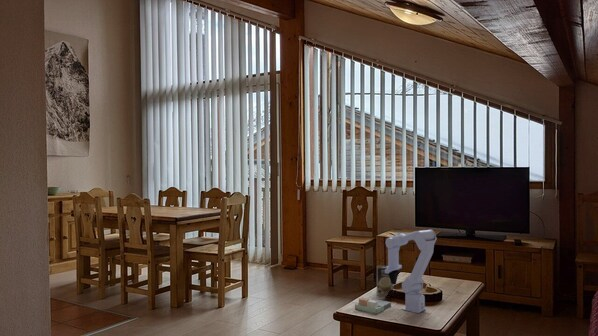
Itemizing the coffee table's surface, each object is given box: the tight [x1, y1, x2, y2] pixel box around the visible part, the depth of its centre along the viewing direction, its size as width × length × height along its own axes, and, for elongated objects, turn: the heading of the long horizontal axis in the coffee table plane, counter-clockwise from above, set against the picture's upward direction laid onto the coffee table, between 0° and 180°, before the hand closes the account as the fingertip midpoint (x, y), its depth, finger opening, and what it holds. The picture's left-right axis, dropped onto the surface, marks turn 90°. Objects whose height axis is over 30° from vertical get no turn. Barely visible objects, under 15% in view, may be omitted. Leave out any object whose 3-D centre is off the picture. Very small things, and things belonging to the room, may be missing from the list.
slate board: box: [369, 298, 392, 310], centre depth 268 cm, size 12×8×2 cm
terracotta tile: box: [358, 297, 370, 307], centre depth 264 cm, size 4×4×3 cm
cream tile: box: [367, 299, 378, 309], centre depth 260 cm, size 4×4×3 cm
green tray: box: [354, 302, 385, 315], centre depth 262 cm, size 13×8×2 cm, turn 49°
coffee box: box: [376, 265, 394, 297], centre depth 288 cm, size 9×6×16 cm
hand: (393, 284), depth 273 cm, fingers closed
